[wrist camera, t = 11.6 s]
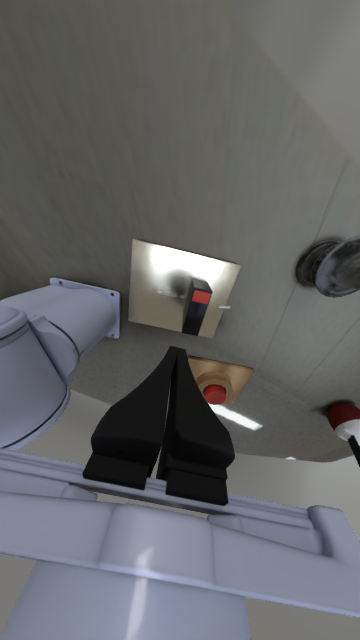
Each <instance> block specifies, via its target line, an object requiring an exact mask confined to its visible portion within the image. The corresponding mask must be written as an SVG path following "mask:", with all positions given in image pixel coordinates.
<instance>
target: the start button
mask: <svg viewBox="0 0 360 640" xmlns="http://www.w3.org/2000/svg"><path fill="white" fill-rule="evenodd" d="M204 394H205V400H206V401H207V402H208V403H209V404H213V405H217V404H221V403H223V402H224V401H225V400H226V394H225V390H224V388H223V386H221V385H217V384H213V385H208V386H207V387H205V389H204Z"/></svg>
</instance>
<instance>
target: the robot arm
mask: <svg viewBox="0 0 360 640" xmlns="http://www.w3.org/2000/svg"><path fill="white" fill-rule="evenodd" d="M61 282H62V283H63V284H62V283H61ZM50 284H51V285H50V286H46V287H43V288H39V289H36V290H32V291H29V292H25V293H22V294H19V295H15V296H12V297H8V298H5V299H3V300H1V301H0V554H5V555H11V556H17V557H22V558H27V559H33V560H37V561H36V563H35V565H34V567H33V569H32V571H31V573H30V575H29V577H28V579H27V581H26V583H25V585H24V587H23V589H22V591H21V594H20V595H19V597H18V599H17V601H16V604H15V606H14V608H13V610H12V612H11V614H10V616H9V618H8V620H7V622H6V624H5V626H4V628H3V630H2V632H1V634H0V640H251V638H250V631H249V623H248V618H247V610H246V603H245V598H251V599H257V600H262V601H268V602H274V603H279V604H285V605H290V606H296V607H302V608H307V609H313V610H319V611H324V612H330V613H335V614H341V615H347V616H353V617H358V618H360V541H359V539H358V538H357V536H356V534H355V532H354V531H353V529H352V527H351V525H350V523H349V522H348V520H347V518H346V516H345V515H344V513H343V511H341V510H340V509H336V508H331V507H326V506H320V505H317V506H316V505H315V506H311V507H309V508H308V509H304V508H299V507H294V506H289V505H284V504H279V503H274V502H268V501H264V500H258V499H253V498H249V497H244V496H239V495H234V494H229V493H227V487H226V479H227V471H226V468H227V467H228V466H229V465H230V464H231V463H232V462H233V460H234V458H235V453H234V448H233V444H232V441H231V437H230V434H229V432H228V430H227V429H226V428H225V427H224V425H223V424H222V423H221V422H220V420H219V419H218V418H217V416H216V415H215V413H214V412H213V410H212V409H211V407H210V406H209V404H208V403H207V401H206V400H205V398H204V396H203V394H202V393H201V391H200V389H199V387H198V385H197V383H196V381H195V378H194V376H193V373H192V371H191V368H190V365H189V362H188V358H187V354H186V350H185V349H182V348H177V347H173V346H170V347H169V349H168V352H167V353H166V355H165V357H164V358H163V360H162V361H161V362H160V364H159V365H158V366H157V367H156V369H155V370H154V371H153V372H152V373H151V374H150V375H149V376H148V377H147V378H146V379H145V380H144V381H143V382H142V383H141V384H140V385H139V386H138V387H137V388H135V389H134V390H133V391H132V392H131V393H129V394H128V395H127V396H126V397H124V398H123V399H121V400H120V401H118V402H117V403H116V404H114V405H113V406H111V407H110V409H109V410H108V411H107V412H106V414H105V415H104V416H103V418H102V419H101V421H100V422H99V424H98V425H97V427H96V429H95V431H94V433H93V435H92V437H91V444H92V450H93V453H92V455H91V457H90V459H89V461H88V463H87V465H83V464H78V463H73V462H68V461H63V460H58V459H53V458H48V457H43V456H38V455H33V454H28V453H23V452H18V451H16V450H17V449H19V448H21V447H23V446H25V445H26V444H28V443H30V442H31V441H33V440H34V439H35V438H37V437H38V436H40V435H41V434H42V433H43V432H44V431H46V430H47V429H48V428H49V427H50V426H51V425H52V424H53V423H54V422H55V421H56V420H57V419H58V418H59V416H60V415H61V414H62V413H63V411H64V410H65V408H66V406H67V405H68V402H69V400H70V395H71V392H70V388H69V386H68V384H69V383H70V382H71V381H72V380H73V378H74V377H75V376H76V374H75V369H76V367H77V366H78V365H79V364H80V363H81V362H82V361H83V360H84V359H85V357H86V356H87V355H88V354H89V353H90V352H91V351H92V350H93V349H94V348H95V346H96V345H97V344H98V343H99V342H100V341H101V340H102V339H103V338H104V337H105V336H107V337H112V338H119V336H120V299H121V295H120V293H119V292H117V291H113V290H109V289H104V288H100V287H95V286H91V285H86V284H82V283H77V282H73V281H68V280H63V279H59V278H50ZM112 293H113V294H114V296H113V295H112ZM113 334H114V335H113ZM170 381H171V385H170ZM169 388H170V397H169V407H168V413H167V419H166V412H167V403H168V396H169ZM165 420H166V425H165ZM164 430H165V431H164ZM161 446H162V448H161ZM160 449H161V454H160V459H159V464H158V470H157V475H156V479H153V478H150V477H151V474H152V471H153V468H154V466H155V464H156V461H157V458H158V455H159V452H160ZM91 491H93V492H99V493H104V494H109V495H114V496H119V497H125V498H129V499H134V500H140V501H145V502H150V503H155V504H160V505H165V506H170V507H176V508H181V509H186V510H191V511H196V512H201V513H207V514H211V515H208V517H207V519H205V518H202V517H198V516H194V515H189V514H184V513H179V512H174V511H168V510H163V509H158V508H153V507H148V506H143V505H136V504H119V503H109V502H99V501H96V499H97V494H96V493H93V492H91Z"/></svg>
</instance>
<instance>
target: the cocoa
mask: <svg viewBox="0 0 360 640" xmlns="http://www.w3.org/2000/svg"><path fill="white" fill-rule="evenodd" d="M327 418H328V421H329V423H330V425H331V426H332V428H333V429H334V431H335V433H336V434H337V436H338V437H340V438H342V439H344V440H346V441H348V442H349V444H350V446H351V449H352V451H353V453H354V455H355V458H356V460H357V461H358V464H359V467H360V409H358V408H357V407H355V406H352V405H349V404H335V405H332V406H330V407H329V409H328V410H327Z"/></svg>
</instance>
